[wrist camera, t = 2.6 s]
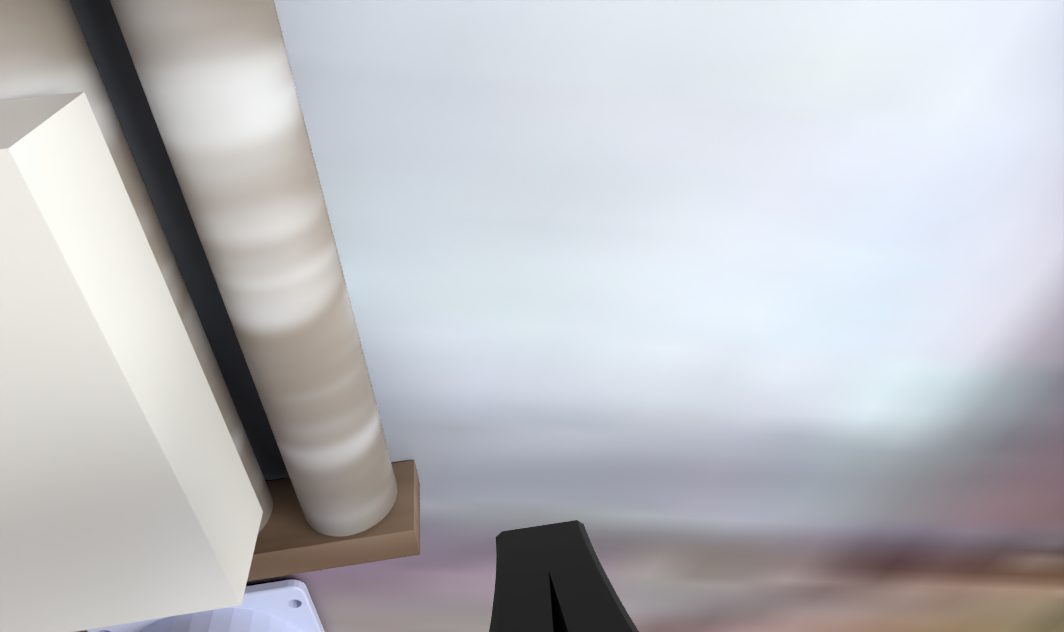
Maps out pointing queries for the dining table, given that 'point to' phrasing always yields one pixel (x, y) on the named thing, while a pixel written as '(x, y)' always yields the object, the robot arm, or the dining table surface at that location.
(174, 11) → the roller track
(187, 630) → the robot arm
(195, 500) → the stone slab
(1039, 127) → the dining table surface
